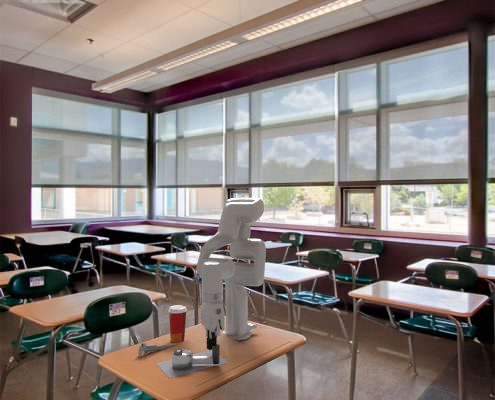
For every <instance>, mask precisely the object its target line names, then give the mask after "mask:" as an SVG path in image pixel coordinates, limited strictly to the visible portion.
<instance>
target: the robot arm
mask: <svg viewBox="0 0 495 400" xmlns="http://www.w3.org/2000/svg"><path fill="white" fill-rule="evenodd" d="M264 211H265V204H264V201H263V200H262V198H259V197H232V198H229V199H227V200H226V202H225V204H224V206H223V208H222V211H221V215H220V219H219V223H218V224H219V225H218V226H217V231H216V233H215V234H214V235H212V236H211V237H210V238H209V239H208V240H207V241H206V242H205V243H204V244H203V245H202V247H201V249H200V252H199V257H198V259H197V263H196V272H197V274H198V276H200V277H201V312H200V313H201V315H200V316H201V317H200V319H201V320H200V323H201V325H202V326H203V328H204V329H205V337H206V349H207V351H209V350H212V345H214V344H218V341H217V340H218V337H221V331H222V334H223V335H224V334H225V335H226V336H228V337H230V338H231V339H233V341H245V340H248V339H249V338H251V336H252V332H251V330H254V329H257V328H258V325H257V324H256V323H253V324H252V323H250V322H249V323H248V320H249V319H248V316H249V315H248V312H249V310H248V305H249V303H248V302H249V301H248V299H249V296H248V292H247V290H246V288H245V286H248V287H260V286H262V285H263V284H264V280H265V274H266V273H265V271H266V270H265V269H266V258H267V257H266V256H267V247H266V244H265V241H264V240H263V239H260V238H251V232H252V231H251V229H252V228H251V226H250V223H251V224H252V223H256V222H257V221H258V220H260V218H261V217H262V216H263V214H264ZM228 245H230V246H229V255H230V257H231V259H230V258H222V257H220V258H219V257H211V255H212V254H213V253H214V252H215V251H216V250H218V249H220V248H222V247H225V246H228ZM232 259H234V260H238V261H239V260H240V261H253V263H250V262H249V263H248V262H235V261H233V260H232ZM224 284H225V307H224V303H223V300H224Z"/></svg>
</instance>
